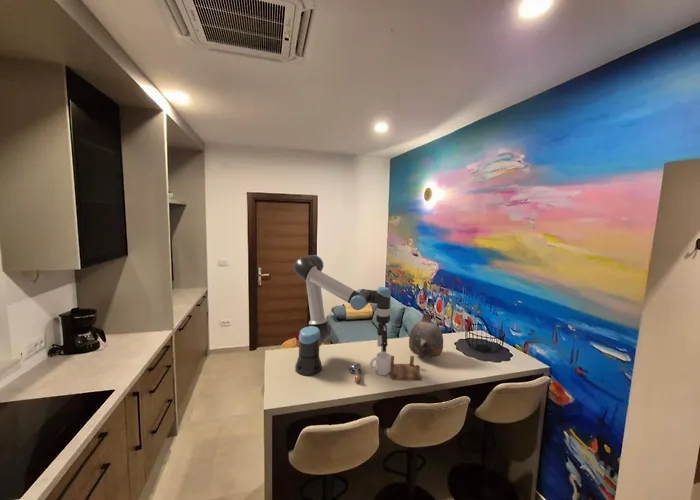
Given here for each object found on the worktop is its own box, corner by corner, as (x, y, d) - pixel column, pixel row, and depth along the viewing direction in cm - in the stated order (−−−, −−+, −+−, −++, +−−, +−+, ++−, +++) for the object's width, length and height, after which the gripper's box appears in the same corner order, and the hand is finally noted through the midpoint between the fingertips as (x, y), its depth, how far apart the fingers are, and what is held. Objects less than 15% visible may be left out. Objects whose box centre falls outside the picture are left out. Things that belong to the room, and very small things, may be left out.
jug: (447, 366, 186) (451, 318, 184) (412, 365, 186) (415, 317, 183) (435, 349, 211) (439, 307, 208) (404, 348, 211) (407, 306, 208)
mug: (371, 376, 170) (372, 358, 169) (368, 369, 179) (368, 352, 178) (391, 375, 172) (393, 358, 171) (387, 368, 180) (388, 351, 180)
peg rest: (392, 379, 168) (393, 367, 167) (387, 365, 184) (388, 354, 183) (421, 380, 169) (422, 368, 168) (413, 366, 185) (414, 355, 184)
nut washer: (349, 374, 172) (349, 372, 172) (349, 368, 179) (349, 366, 179) (362, 374, 172) (362, 372, 172) (360, 368, 179) (360, 366, 179)
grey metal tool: (351, 382, 162) (352, 375, 161) (349, 367, 178) (350, 361, 178) (363, 382, 162) (363, 375, 162) (360, 367, 179) (360, 361, 178)
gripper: (394, 322, 160) (392, 361, 162) (385, 308, 185) (384, 342, 187) (380, 322, 160) (378, 361, 161) (373, 308, 184) (372, 342, 186)
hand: (381, 351), depth 174 cm, fingers open, 13 cm apart
